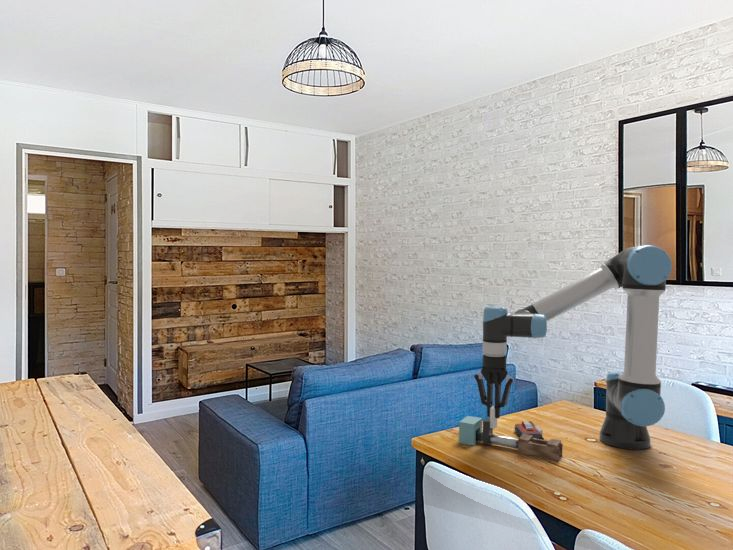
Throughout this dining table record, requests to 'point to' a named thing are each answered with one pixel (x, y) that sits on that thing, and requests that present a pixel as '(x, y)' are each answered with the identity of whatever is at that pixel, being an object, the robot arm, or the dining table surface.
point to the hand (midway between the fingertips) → (493, 427)
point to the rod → (494, 437)
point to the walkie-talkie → (529, 429)
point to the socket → (469, 430)
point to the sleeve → (540, 447)
